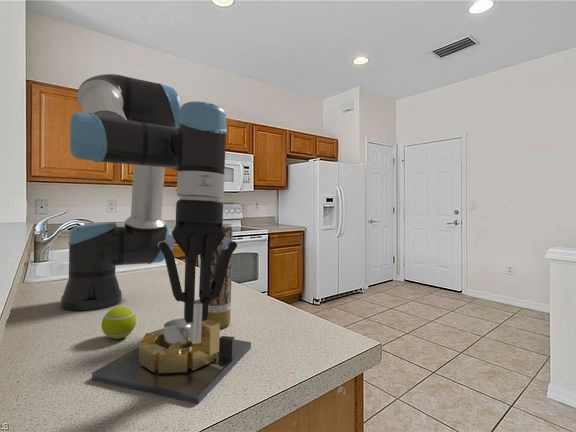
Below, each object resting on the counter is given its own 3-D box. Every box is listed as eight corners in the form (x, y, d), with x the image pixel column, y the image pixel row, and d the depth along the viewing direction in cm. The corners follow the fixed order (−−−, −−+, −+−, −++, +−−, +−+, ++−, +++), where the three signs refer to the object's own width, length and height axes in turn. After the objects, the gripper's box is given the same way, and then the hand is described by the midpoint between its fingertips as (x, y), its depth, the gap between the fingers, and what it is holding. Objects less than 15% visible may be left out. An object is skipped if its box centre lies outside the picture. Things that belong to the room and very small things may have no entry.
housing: (91, 379, 53) (92, 336, 53) (168, 334, 72) (169, 303, 72) (198, 403, 47) (199, 355, 47) (251, 347, 66) (251, 313, 66)
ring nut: (127, 355, 58) (127, 313, 58) (189, 334, 69) (190, 297, 69) (179, 388, 48) (180, 336, 48) (242, 356, 59) (243, 314, 59)
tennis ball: (137, 340, 69) (138, 309, 68) (101, 346, 65) (102, 314, 65) (134, 329, 74) (134, 301, 74) (100, 335, 71) (101, 305, 71)
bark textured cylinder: (235, 322, 81) (237, 223, 80) (221, 332, 74) (223, 225, 74) (212, 318, 83) (214, 222, 82) (196, 327, 77) (198, 223, 76)
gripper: (161, 196, 47) (155, 356, 47) (244, 201, 53) (239, 343, 53) (156, 197, 53) (151, 337, 54) (230, 201, 59) (225, 327, 60)
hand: (195, 340), depth 53 cm, fingers closed
